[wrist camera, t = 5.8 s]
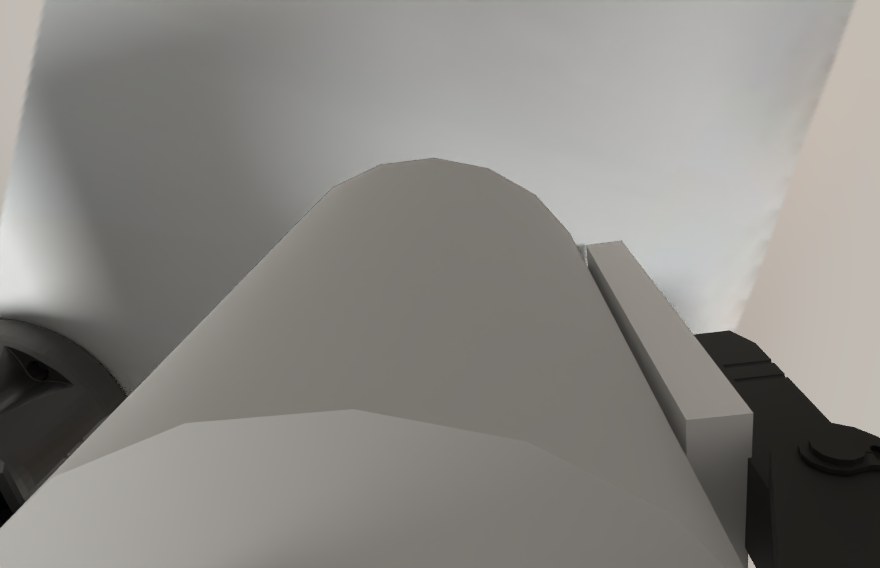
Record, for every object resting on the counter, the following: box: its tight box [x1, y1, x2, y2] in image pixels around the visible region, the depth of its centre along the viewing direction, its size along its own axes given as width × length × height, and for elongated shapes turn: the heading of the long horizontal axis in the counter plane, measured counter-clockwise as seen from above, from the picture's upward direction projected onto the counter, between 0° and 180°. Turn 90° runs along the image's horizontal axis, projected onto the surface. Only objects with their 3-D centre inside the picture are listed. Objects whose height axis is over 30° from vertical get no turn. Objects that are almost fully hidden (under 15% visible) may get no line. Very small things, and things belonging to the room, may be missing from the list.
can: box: [0, 158, 744, 568], centre depth 9 cm, size 8×8×12 cm
